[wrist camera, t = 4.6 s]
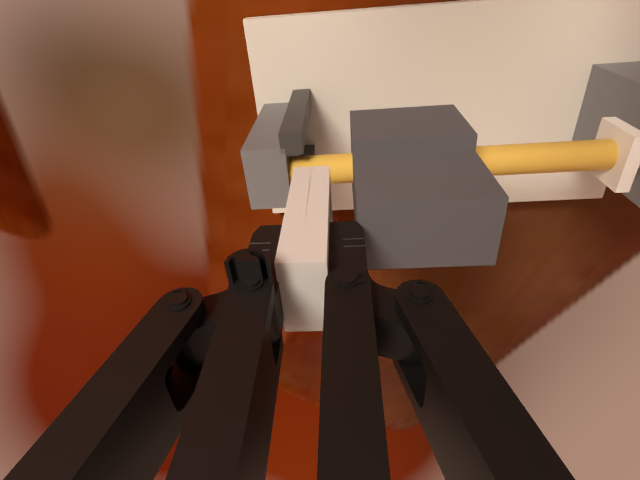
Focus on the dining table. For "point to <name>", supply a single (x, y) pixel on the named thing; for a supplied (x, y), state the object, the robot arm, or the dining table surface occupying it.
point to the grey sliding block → (423, 189)
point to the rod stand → (453, 91)
